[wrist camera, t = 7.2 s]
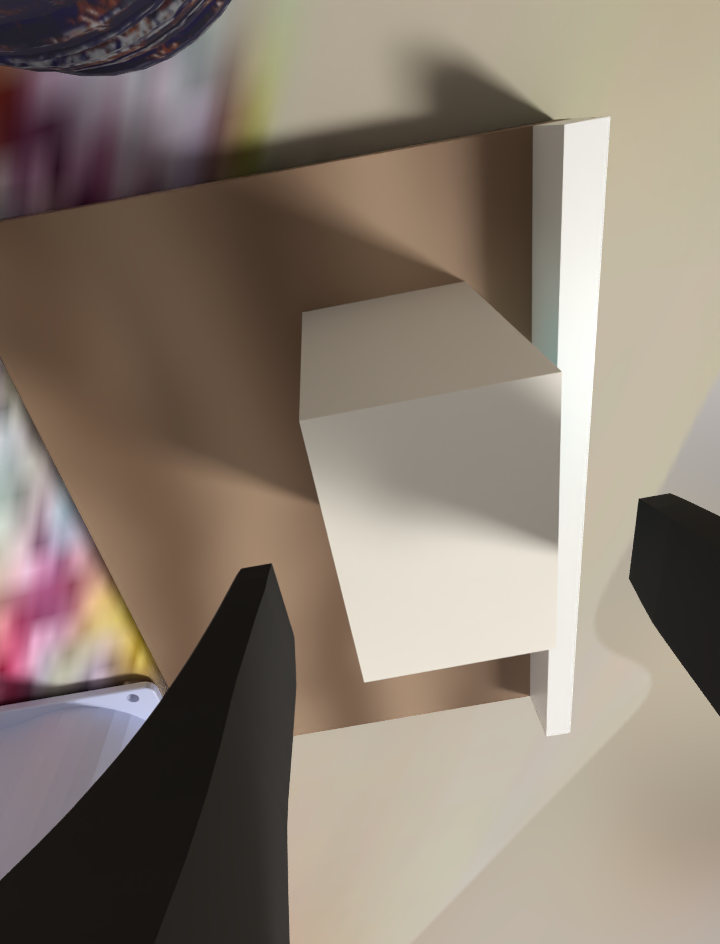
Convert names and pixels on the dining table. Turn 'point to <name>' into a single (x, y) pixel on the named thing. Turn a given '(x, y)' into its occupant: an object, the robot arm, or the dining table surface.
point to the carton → (435, 477)
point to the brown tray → (292, 377)
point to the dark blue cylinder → (100, 33)
